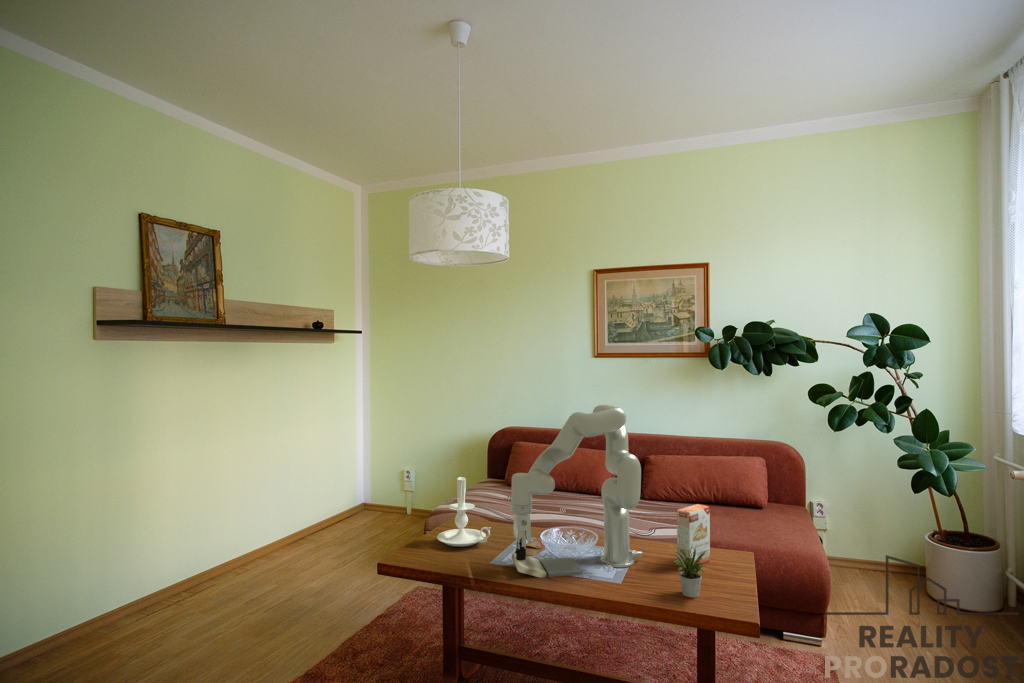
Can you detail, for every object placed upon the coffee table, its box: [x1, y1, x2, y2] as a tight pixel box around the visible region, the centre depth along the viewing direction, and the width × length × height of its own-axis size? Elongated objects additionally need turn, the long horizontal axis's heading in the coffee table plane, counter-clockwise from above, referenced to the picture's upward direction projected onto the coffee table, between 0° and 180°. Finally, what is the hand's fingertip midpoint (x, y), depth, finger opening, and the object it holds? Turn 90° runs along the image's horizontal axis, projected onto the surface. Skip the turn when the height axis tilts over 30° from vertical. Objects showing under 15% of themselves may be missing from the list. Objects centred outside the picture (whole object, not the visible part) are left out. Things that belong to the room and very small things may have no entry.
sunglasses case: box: [514, 537, 546, 557], centre depth 224 cm, size 18×7×7 cm
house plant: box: [666, 544, 708, 598], centre depth 183 cm, size 14×14×16 cm
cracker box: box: [676, 503, 711, 567], centre depth 211 cm, size 14×6×21 cm, turn 129°
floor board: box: [539, 557, 583, 578], centre depth 204 cm, size 12×14×2 cm
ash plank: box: [511, 552, 549, 578], centre depth 202 cm, size 11×14×2 cm
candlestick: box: [436, 476, 492, 548], centre depth 235 cm, size 21×25×28 cm
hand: (520, 559), depth 201 cm, fingers closed
